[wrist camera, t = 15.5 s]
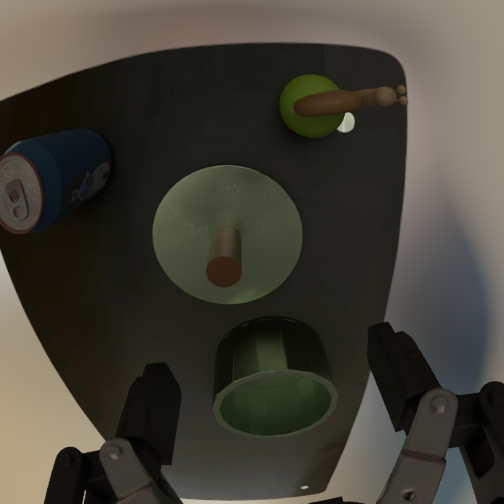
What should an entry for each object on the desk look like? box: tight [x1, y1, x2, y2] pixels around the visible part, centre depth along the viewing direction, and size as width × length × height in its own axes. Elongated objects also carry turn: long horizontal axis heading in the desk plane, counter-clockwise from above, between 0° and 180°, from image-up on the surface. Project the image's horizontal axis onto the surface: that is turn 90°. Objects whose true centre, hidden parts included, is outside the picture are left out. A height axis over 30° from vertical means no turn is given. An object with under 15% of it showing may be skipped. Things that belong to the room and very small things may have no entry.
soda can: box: [0, 129, 112, 234], centre depth 20 cm, size 7×7×12 cm
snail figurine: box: [279, 75, 408, 138], centre depth 19 cm, size 5×6×12 cm
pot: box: [212, 316, 338, 439], centre depth 33 cm, size 14×14×8 cm
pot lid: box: [153, 164, 303, 304], centre depth 27 cm, size 15×15×7 cm
